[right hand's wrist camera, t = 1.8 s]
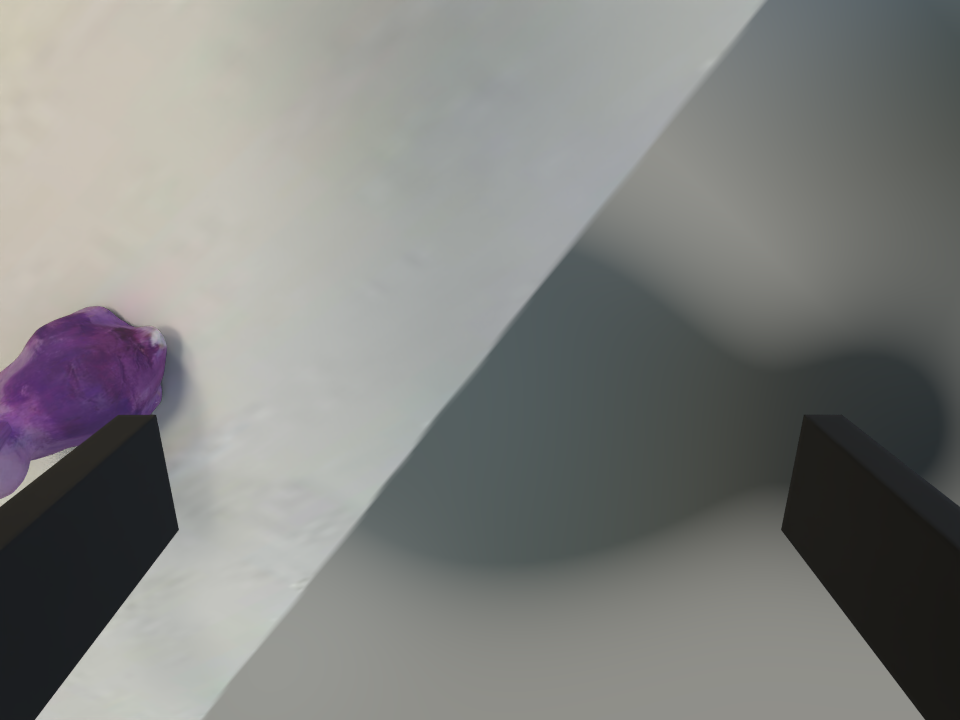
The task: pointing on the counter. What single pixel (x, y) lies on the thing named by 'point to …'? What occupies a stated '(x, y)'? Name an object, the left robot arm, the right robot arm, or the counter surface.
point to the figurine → (75, 386)
